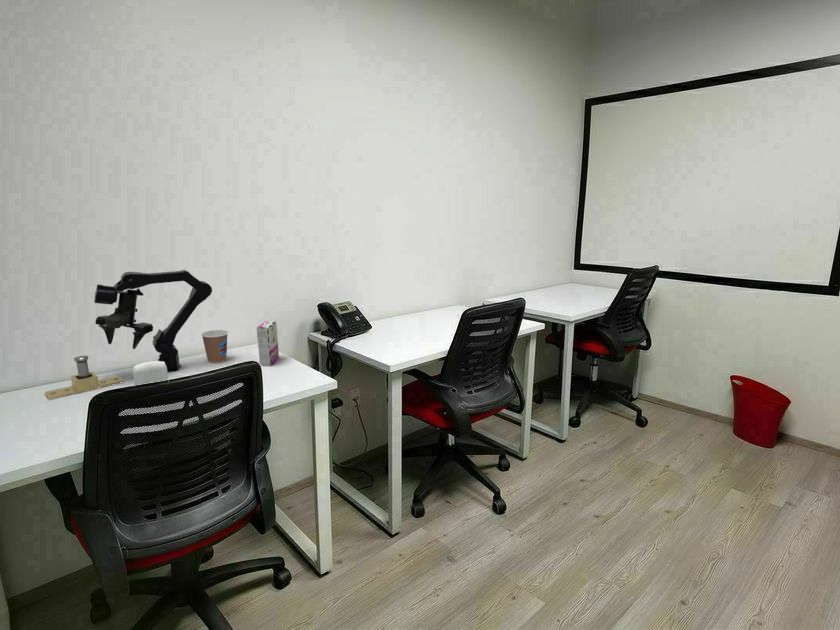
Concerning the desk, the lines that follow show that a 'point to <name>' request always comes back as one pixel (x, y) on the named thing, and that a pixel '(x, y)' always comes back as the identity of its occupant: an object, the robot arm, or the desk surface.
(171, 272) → the robot arm
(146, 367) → the photo printer
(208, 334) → the coffee cup
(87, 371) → the hinge pin
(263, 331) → the candy bar box
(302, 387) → the desk surface
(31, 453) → the desk surface
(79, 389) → the brass socket plate
